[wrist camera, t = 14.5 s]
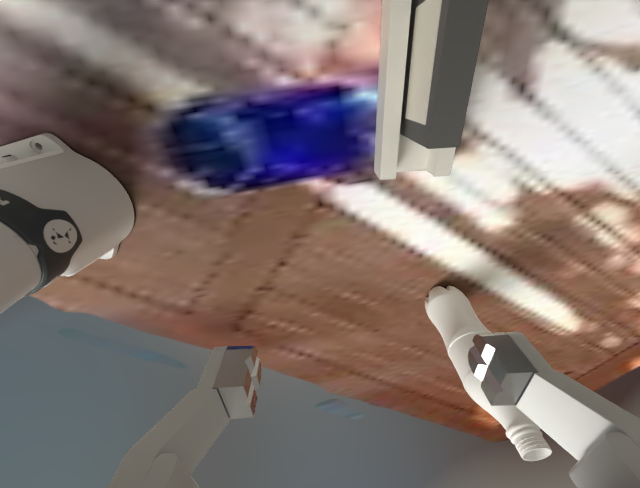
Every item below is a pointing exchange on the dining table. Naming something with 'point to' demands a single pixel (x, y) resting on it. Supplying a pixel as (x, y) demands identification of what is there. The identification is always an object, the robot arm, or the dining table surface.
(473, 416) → the dining table surface
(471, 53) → the picture frame
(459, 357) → the water bottle
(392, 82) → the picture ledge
